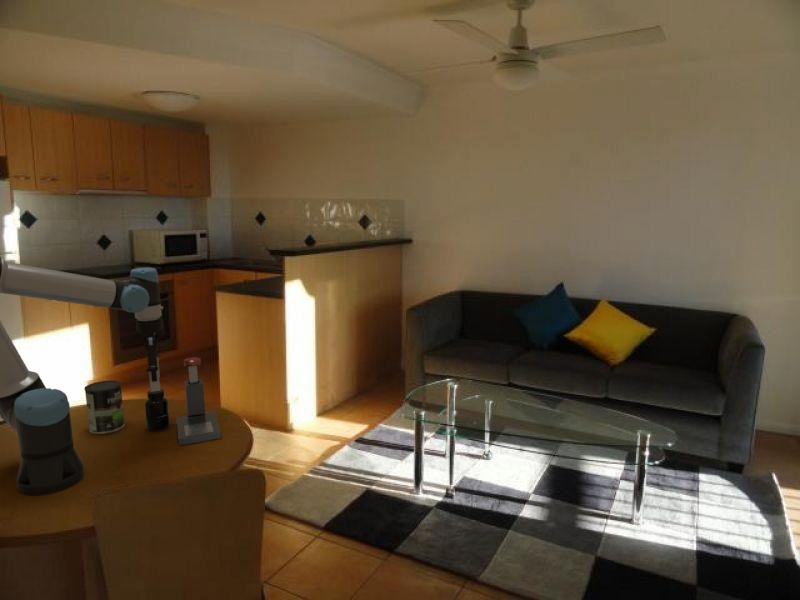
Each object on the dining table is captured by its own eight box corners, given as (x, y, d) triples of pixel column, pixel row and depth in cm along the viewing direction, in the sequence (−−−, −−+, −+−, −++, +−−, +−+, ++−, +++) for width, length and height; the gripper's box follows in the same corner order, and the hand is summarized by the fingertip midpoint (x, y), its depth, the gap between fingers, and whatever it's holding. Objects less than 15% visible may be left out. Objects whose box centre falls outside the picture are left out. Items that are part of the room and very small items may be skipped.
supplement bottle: (164, 431, 180) (161, 395, 178) (142, 431, 180) (139, 395, 178) (173, 422, 187) (170, 387, 184) (152, 422, 187) (149, 387, 184)
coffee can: (132, 422, 187) (128, 381, 184) (110, 435, 177) (105, 392, 174) (104, 420, 189) (100, 379, 186) (81, 432, 179) (76, 389, 176)
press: (221, 438, 175) (218, 395, 172) (179, 445, 170) (175, 400, 167) (215, 417, 191) (212, 377, 188) (176, 423, 186) (173, 381, 184)
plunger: (203, 398, 183) (201, 360, 180) (187, 400, 181) (184, 362, 179) (202, 393, 187) (199, 356, 185) (186, 395, 185) (183, 358, 183)
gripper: (162, 325, 167) (169, 395, 171) (161, 309, 189) (167, 370, 193) (134, 328, 164) (141, 398, 168) (136, 311, 186) (143, 373, 191)
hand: (155, 383), depth 181 cm, fingers open, 13 cm apart
